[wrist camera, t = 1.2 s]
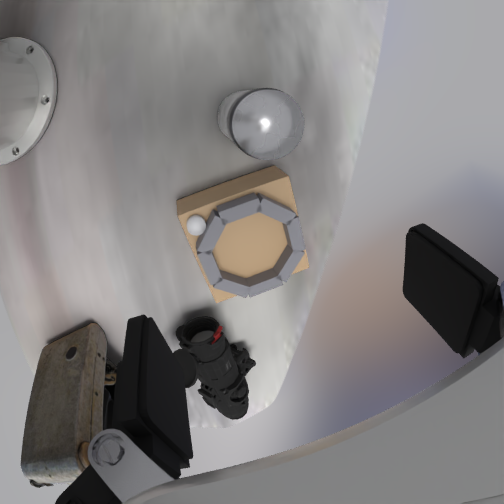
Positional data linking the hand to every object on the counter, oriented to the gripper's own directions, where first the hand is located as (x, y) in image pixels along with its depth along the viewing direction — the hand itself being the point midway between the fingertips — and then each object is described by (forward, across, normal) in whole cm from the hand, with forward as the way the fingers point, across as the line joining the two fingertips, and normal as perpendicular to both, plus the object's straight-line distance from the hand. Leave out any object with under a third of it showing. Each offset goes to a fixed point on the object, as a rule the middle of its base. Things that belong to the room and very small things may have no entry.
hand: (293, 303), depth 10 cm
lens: (+21, -4, -4) cm, 22 cm away
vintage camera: (+21, +22, +20) cm, 37 cm away
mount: (+21, 0, +7) cm, 22 cm away
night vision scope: (+22, +7, +23) cm, 32 cm away
